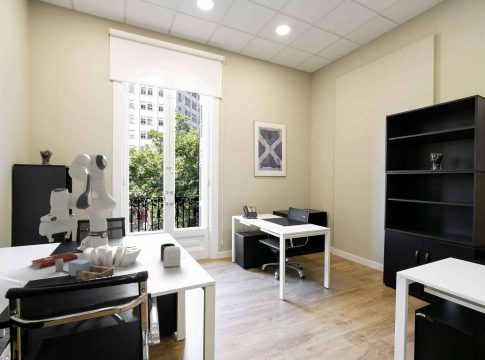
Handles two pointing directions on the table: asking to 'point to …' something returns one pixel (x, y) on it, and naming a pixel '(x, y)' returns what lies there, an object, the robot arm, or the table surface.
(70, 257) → the hardcover book
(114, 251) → the wavy white extrusion
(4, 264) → the table surface
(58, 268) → the tethered block
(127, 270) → the table surface
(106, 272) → the wooden tray
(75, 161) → the robot arm
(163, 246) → the mug
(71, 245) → the table surface
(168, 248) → the photo printer
